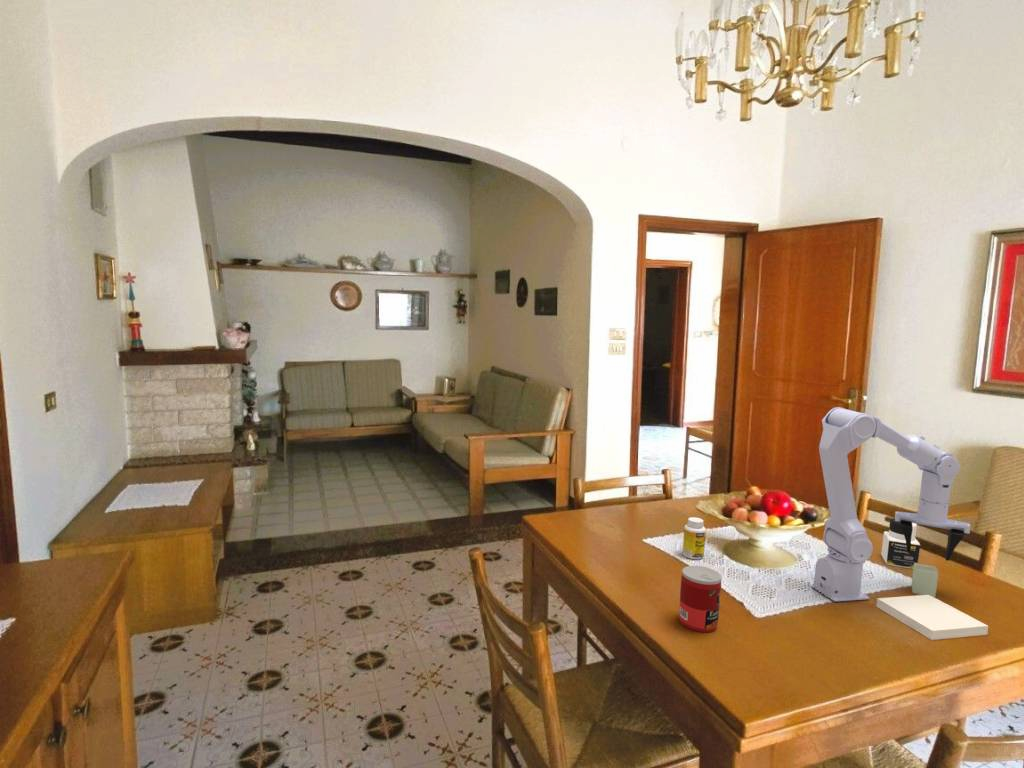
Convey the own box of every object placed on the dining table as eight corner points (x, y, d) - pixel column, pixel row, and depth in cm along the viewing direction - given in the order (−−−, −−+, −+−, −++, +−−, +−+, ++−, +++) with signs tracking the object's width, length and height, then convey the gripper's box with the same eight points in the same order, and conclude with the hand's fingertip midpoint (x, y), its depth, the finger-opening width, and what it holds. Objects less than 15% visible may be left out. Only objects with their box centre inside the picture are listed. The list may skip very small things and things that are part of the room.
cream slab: (931, 642, 120) (932, 630, 120) (876, 608, 134) (877, 598, 133) (986, 637, 123) (988, 625, 123) (927, 604, 137) (928, 594, 136)
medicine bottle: (886, 565, 158) (891, 521, 156) (880, 555, 164) (885, 513, 163) (917, 570, 155) (922, 526, 154) (910, 560, 162) (915, 517, 160)
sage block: (935, 598, 139) (938, 573, 139) (912, 592, 142) (915, 569, 141) (933, 590, 143) (936, 567, 142) (911, 586, 145) (914, 562, 145)
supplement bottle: (694, 561, 155) (697, 524, 154) (678, 554, 160) (680, 518, 159) (708, 557, 158) (711, 521, 157) (691, 550, 163) (694, 514, 162)
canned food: (712, 637, 118) (717, 585, 117) (673, 625, 122) (677, 574, 121) (721, 621, 125) (725, 571, 123) (684, 610, 129) (687, 562, 128)
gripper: (969, 501, 139) (962, 556, 141) (897, 490, 147) (891, 543, 148) (974, 509, 133) (967, 567, 135) (898, 497, 141) (892, 552, 142)
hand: (927, 555), depth 141 cm, fingers open, 7 cm apart
